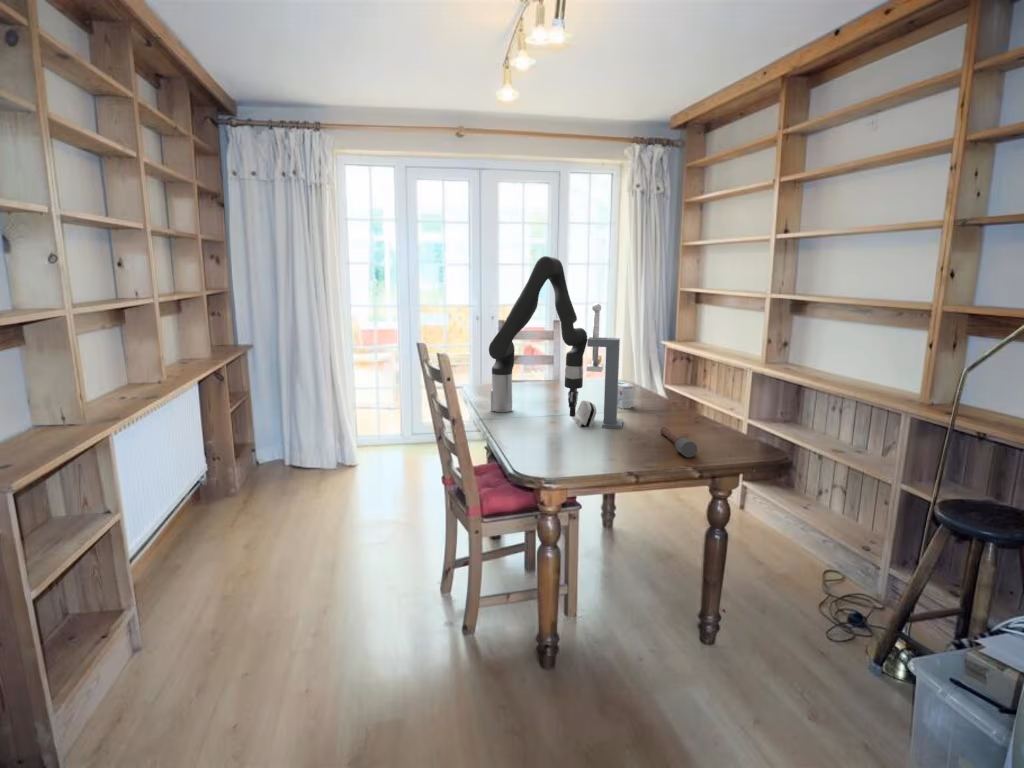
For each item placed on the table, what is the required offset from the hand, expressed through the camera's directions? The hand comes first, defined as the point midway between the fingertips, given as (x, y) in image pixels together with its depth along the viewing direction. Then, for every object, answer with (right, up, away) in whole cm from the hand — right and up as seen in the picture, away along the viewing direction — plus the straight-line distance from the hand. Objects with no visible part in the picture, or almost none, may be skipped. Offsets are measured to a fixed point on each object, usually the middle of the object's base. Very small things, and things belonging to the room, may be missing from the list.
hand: (572, 416), depth 247 cm
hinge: (+5, -3, +1) cm, 6 cm away
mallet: (+35, -10, -32) cm, 48 cm away
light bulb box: (+26, +3, +30) cm, 40 cm away
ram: (+10, +21, 0) cm, 23 cm away
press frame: (+13, -3, -2) cm, 14 cm away
